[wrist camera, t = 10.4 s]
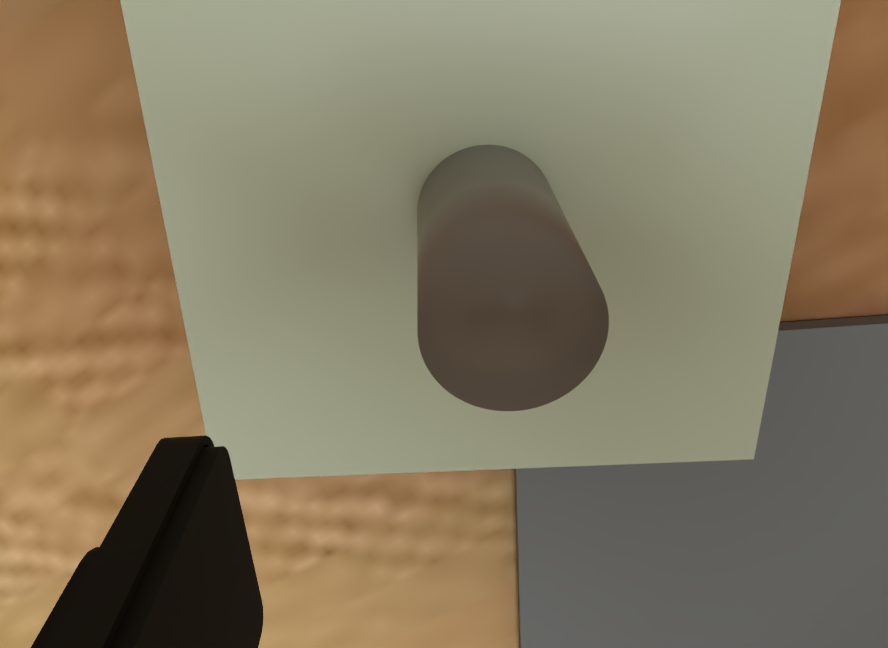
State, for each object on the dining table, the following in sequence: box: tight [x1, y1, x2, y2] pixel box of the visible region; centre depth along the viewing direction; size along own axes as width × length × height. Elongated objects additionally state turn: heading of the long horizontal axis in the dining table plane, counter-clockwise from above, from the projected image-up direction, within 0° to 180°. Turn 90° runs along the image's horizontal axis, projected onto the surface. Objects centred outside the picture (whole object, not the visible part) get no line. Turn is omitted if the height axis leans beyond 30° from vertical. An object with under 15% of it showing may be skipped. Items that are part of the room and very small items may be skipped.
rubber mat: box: [515, 315, 888, 648], centre depth 32 cm, size 18×18×1 cm
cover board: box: [120, 0, 841, 480], centre depth 16 cm, size 15×15×7 cm
